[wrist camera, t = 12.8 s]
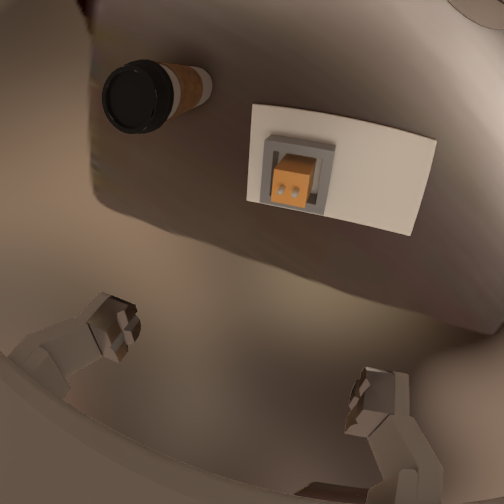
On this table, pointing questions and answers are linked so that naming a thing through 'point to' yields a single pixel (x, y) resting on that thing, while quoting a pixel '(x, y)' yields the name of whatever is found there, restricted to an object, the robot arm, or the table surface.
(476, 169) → the table surface
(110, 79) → the coffee cup
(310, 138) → the white board with socket
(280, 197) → the plug
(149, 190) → the table surface
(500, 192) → the table surface
